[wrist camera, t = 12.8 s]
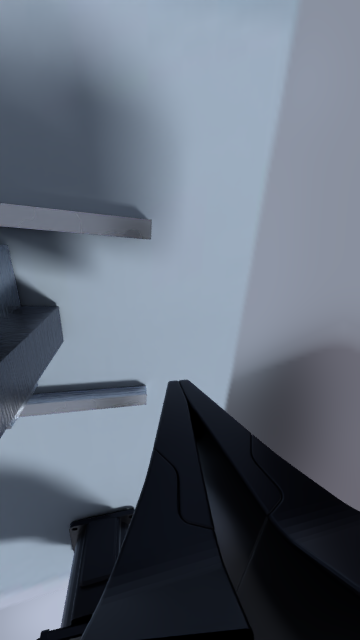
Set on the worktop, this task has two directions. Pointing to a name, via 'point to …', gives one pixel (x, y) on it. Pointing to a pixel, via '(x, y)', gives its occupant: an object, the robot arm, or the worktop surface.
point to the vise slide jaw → (22, 344)
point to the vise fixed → (87, 225)
